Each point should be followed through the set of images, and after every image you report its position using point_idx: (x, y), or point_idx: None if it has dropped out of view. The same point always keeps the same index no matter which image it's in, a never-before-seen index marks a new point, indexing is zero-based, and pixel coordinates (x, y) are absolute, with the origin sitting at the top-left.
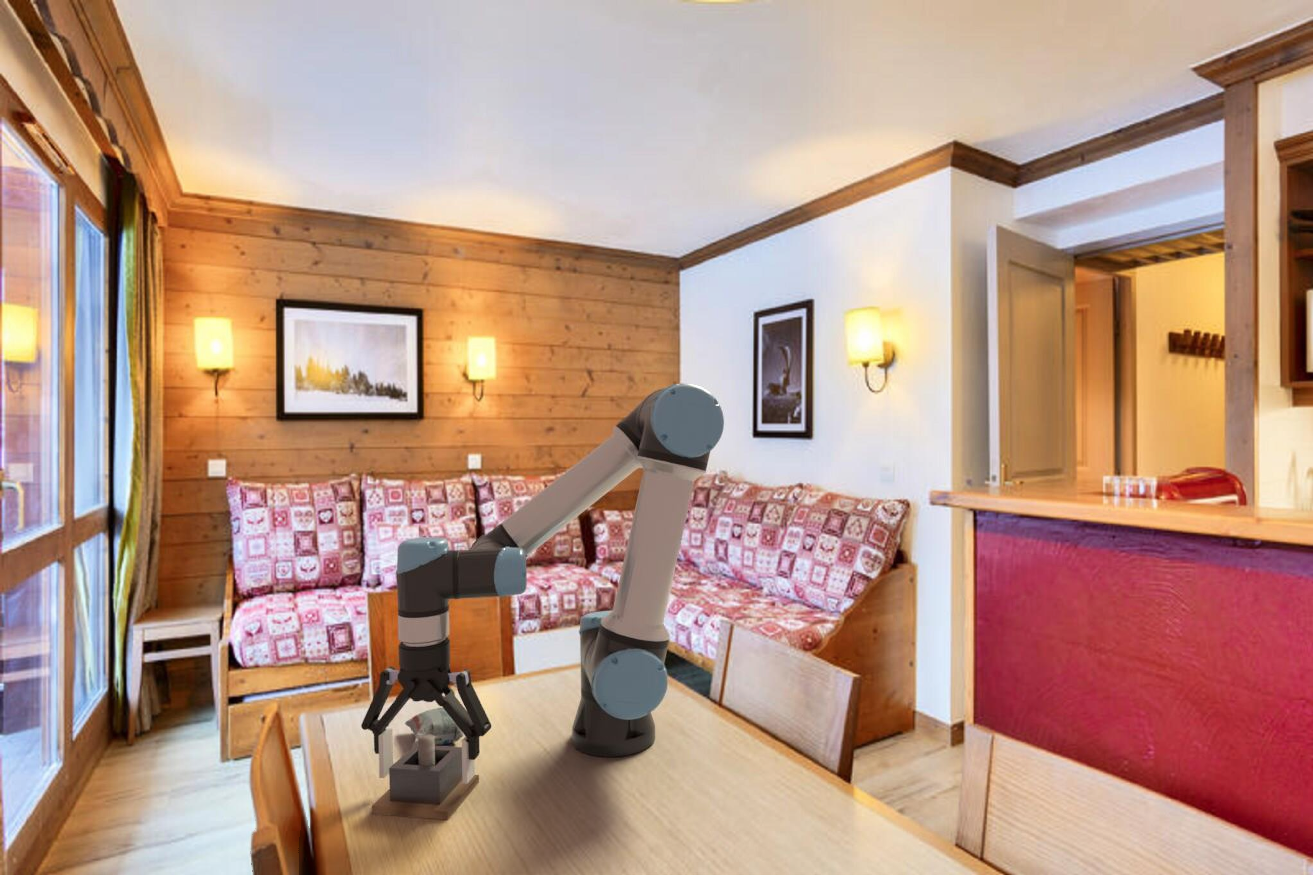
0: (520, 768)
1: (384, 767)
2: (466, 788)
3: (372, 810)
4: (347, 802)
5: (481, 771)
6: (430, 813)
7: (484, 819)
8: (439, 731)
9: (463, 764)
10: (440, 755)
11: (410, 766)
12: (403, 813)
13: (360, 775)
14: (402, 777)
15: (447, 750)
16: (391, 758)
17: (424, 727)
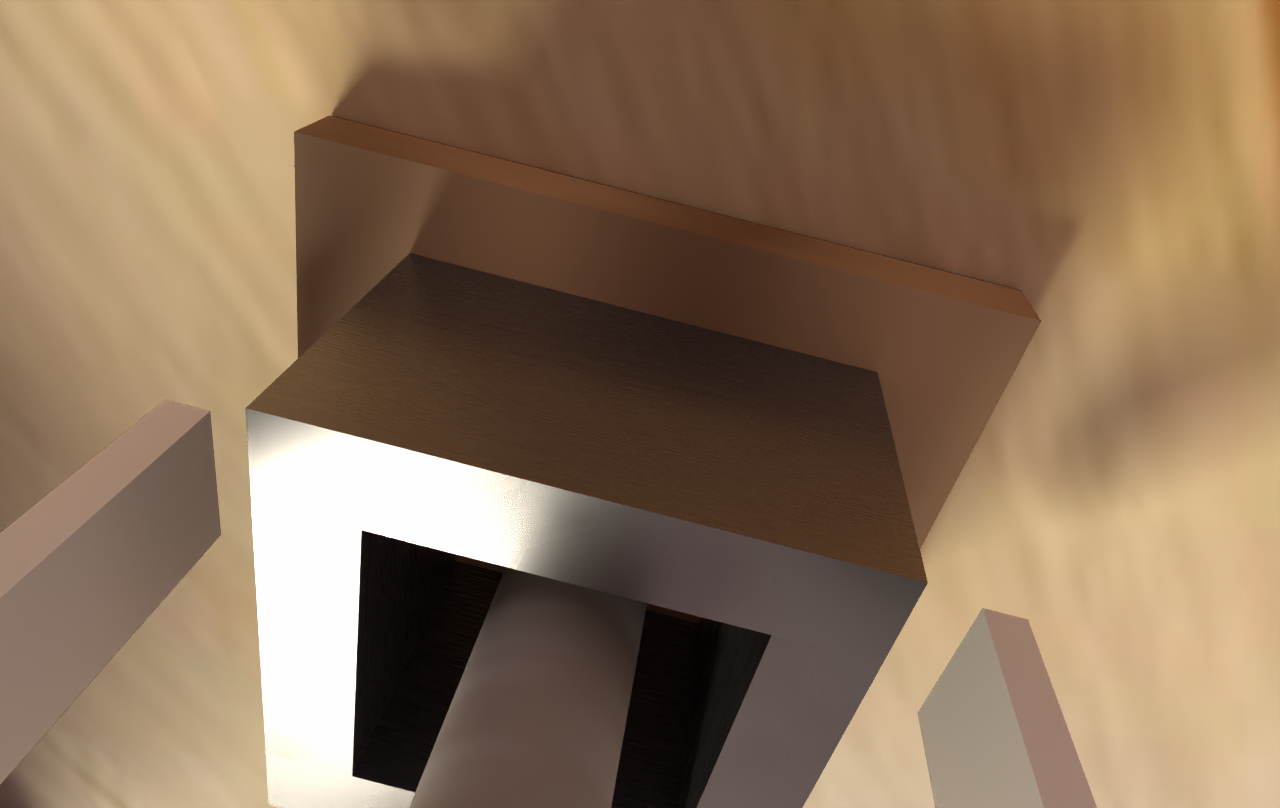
0: (151, 672)
1: (998, 693)
2: None
3: (1020, 299)
4: (1251, 487)
5: None
6: (469, 165)
7: (38, 88)
8: None
9: (66, 519)
10: None
11: (657, 570)
12: (726, 223)
13: (1165, 782)
14: (748, 468)
15: (384, 784)
16: (947, 800)
17: None
